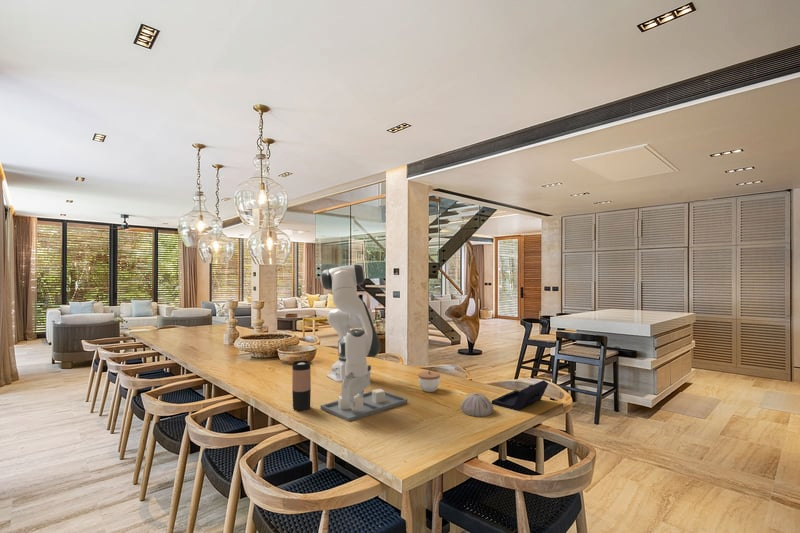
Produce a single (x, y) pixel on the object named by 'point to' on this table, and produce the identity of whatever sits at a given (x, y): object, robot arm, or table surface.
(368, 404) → the divided tray
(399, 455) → the table surface
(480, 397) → the sea urchin shell
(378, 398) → the limestone block
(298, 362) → the travel mug
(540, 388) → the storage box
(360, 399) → the limestone block
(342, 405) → the limestone block
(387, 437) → the table surface
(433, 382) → the lidded jar
